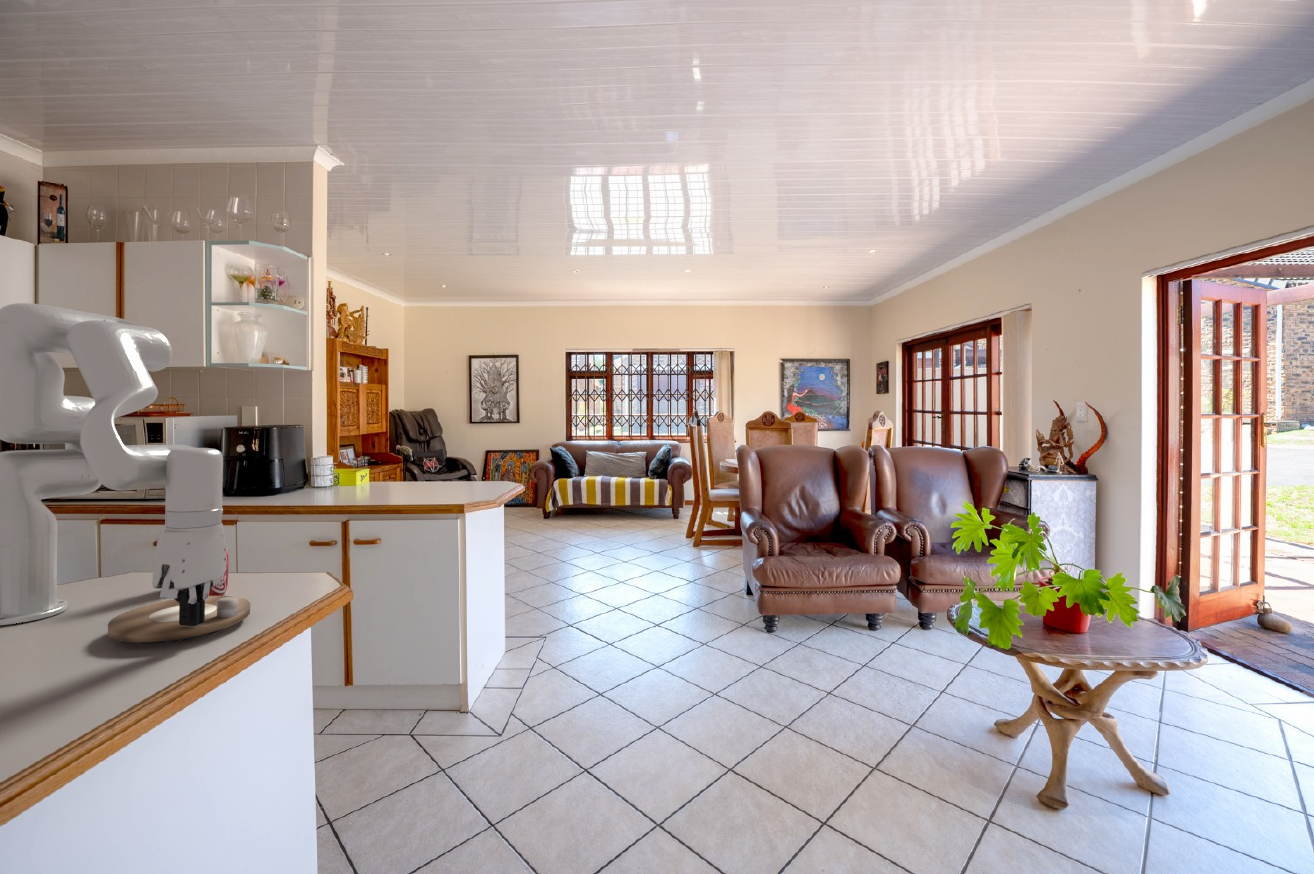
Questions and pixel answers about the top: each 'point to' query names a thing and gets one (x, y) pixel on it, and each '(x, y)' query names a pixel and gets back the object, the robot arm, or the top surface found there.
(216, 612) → the turntable
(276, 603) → the top surface
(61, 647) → the top surface
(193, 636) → the turntable base
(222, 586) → the soda can
